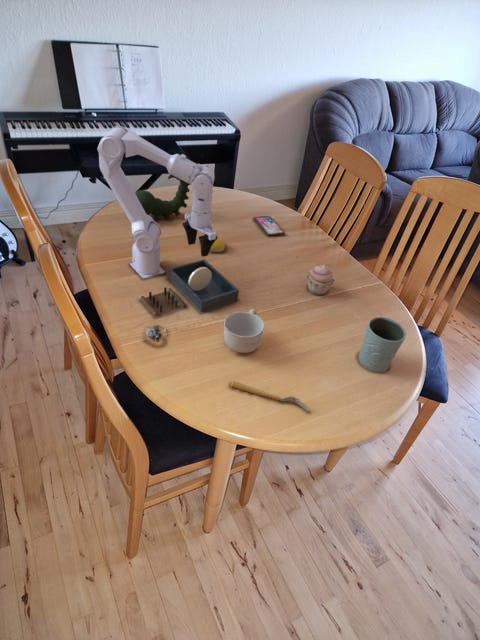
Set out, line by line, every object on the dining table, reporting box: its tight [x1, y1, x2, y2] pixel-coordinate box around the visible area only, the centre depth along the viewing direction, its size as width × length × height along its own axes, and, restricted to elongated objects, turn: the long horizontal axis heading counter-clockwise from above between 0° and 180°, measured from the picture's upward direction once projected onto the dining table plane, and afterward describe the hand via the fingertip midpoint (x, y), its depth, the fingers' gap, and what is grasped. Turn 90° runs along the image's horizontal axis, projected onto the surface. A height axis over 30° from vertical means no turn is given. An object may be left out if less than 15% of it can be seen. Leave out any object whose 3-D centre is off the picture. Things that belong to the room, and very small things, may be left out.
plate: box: [188, 267, 212, 291], centre depth 135 cm, size 1×8×8 cm, turn 126°
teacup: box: [223, 308, 265, 354], centre depth 120 cm, size 14×11×8 cm
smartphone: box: [253, 215, 285, 237], centre depth 178 cm, size 8×1×15 cm
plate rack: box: [140, 287, 186, 317], centre depth 129 cm, size 9×10×3 cm
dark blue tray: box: [167, 258, 240, 313], centre depth 137 cm, size 20×14×4 cm
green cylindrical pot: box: [358, 316, 407, 373], centre depth 119 cm, size 10×10×12 cm
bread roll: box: [209, 235, 226, 253], centre depth 159 cm, size 8×9×4 cm
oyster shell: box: [144, 324, 168, 343], centre depth 118 cm, size 7×8×2 cm
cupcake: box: [306, 263, 336, 296], centre depth 144 cm, size 9×9×10 cm
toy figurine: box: [135, 174, 191, 221], centre depth 166 cm, size 9×19×25 cm
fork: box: [230, 381, 310, 413], centre depth 107 cm, size 2×2×20 cm
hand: (198, 249), depth 137 cm, fingers open, 7 cm apart
